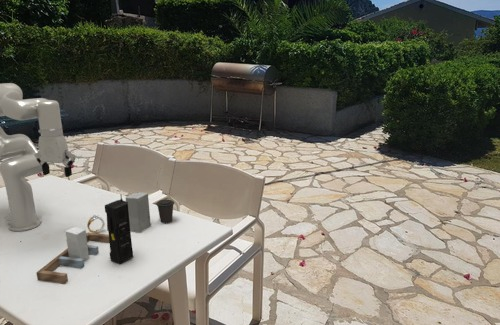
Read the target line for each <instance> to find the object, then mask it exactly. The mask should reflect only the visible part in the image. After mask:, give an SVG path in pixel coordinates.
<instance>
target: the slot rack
mask: <svg viewBox="0 0 500 325" xmlns="http://www.w3.org/2000/svg"><path fill="white" fill-rule="evenodd" d="M86 238H87V246H88V254H89V255H94V256H97V255H99V253H100V252H99V246H98V245H90V244H88V243H89V242H96V243H104V244H105V243H106V244H110V243H109V234H105V233H93V232H86ZM59 267H67V268H76V269H83V268H84V267H85V261H84V259H80V258H71V257H69V254H68V247H67V248H66V249H64V250H63V251H62V252H61V253H59V254H58V255H57V256H55V257H54V258H52V260H50V261H49V262H48V263H47V264H46V265H44V266H43V267H42V268H40V269H39V270H37V271H36V278H37V281H41V282H50V283H51V282H52V283H58V284H64V285H65V284H67V283H68V281H69V279H68V277H69V276H68V273H66V272H57V271H56V269H58V268H59Z"/></svg>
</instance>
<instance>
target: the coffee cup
mask: <svg viewBox="0 0 500 325" xmlns="http://www.w3.org/2000/svg"><path fill="white" fill-rule="evenodd" d="M174 204H175V202H174V200H172V199H161V200H158V201H157V202H156V206H157V209H158V215H159V221H160V223H161V224H170V223H172V222H173V213H174Z"/></svg>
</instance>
